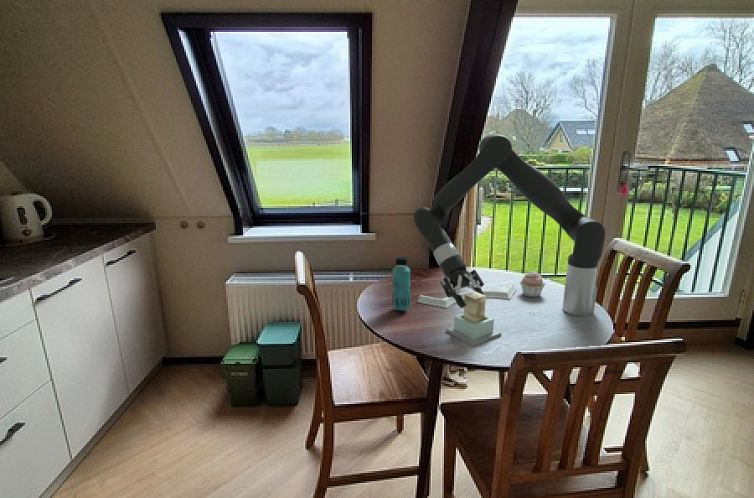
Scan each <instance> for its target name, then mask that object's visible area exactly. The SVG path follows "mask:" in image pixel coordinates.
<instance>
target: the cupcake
mask: <svg viewBox="0 0 754 498" xmlns="http://www.w3.org/2000/svg"><path fill="white" fill-rule="evenodd" d="M519 284H520V286H521V290H522V294H523V296H525V297H528V298H538V297H540V296H541V295H542V291H543V289H544V287H545V286H546V283H544V280H543V277H542V276H541V275H540V274H539V273H538V272H536V271H535V270H533V269H532V271H531V272H528V273H525V275H524V276H523V277H522V279H521V280H520V281H519Z"/></svg>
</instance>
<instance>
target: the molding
mask: <svg viewBox="0 0 754 498" xmlns="http://www.w3.org/2000/svg"><path fill="white" fill-rule="evenodd" d="M516 291H517V288H516V287H515V286H514V284H513V283H509V285H507V286H506V285H503V286H502V287H501V288H500V290H482V292H483V293H484V295H485V296H486V299H499V300H500V299H501V300H509V301H510V300H511V299H512V298H513V296H514V295H515V293H516ZM471 292H475V291H474V290H472V291H465V292H460V294H459V295H461V296H462V298H463V300H465V294H468V293H471ZM417 303H418V304H419V303H420V304H424V305H428V306H434V307H437V308H438V307H439V308H444V309H448V308H449V307H451V306H452V305H455V304H457V302H456V300H455V299H454V298H453V297H450V298H448V297H447V296H446V297H443V298H437V297H434V296H433V297H432V296H426V295H421V294H420V295H419V296H418V299H417Z"/></svg>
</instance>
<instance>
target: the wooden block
mask: <svg viewBox="0 0 754 498" xmlns="http://www.w3.org/2000/svg"><path fill="white" fill-rule="evenodd" d="M470 292H471V293H468V294H465V300H464V302H465V303H466V306H465V307H464V308H463V313H464V319H465V320H467V321H469V322H472V323H474V324H476V323H478V322H481V321H484V319H485V315H486V299H487V298H486V296H485V295H483V294H480V293H478V292H472V291H470Z"/></svg>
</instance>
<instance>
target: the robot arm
mask: <svg viewBox="0 0 754 498" xmlns="http://www.w3.org/2000/svg"><path fill="white" fill-rule="evenodd" d="M478 145H479V146H478V151H479V152H478V154H477V155H476V156H475V157H474V159H473V160H472V161H471V163H469V164H468V165H467V166H466V167H465V168H464V169H463V170H462V171H461V172H459V173H458V174H457V175H455V176H454V177H453V178H452V179H451V180H449V181H448V182H446V184H445V185H444V186H443V187H442V188H441V189H440V190H439V191H438V192H437V193H436V194H435V196H434V197H433V201H434V202H433V204H432V206H431V207H430V208H428V207H424V206H422V207H419V208H417V209H416V210H415V211H414V213H413V222H414V224H415V226H416V229H418V231H419V232H420V234H421V235H422V236H423V238H424V239H425V240H426V242H427V244H428V246H429V248H430V249H431V252H432V254H433V256H434V258H435V261H436V263H437V264H438V266H439V268H440V269H441V272H442V274H443V275H444V278H443V279H441V281H440V285H441V286H442V289H443V290H444V293H445V295H446V297H448V298H450V297H453V298H454V299H455V300H456V302H457V303H456V304H457V306H458V307H459V308H460V309H464V307H465V306H466V303H465V302H464V300H463V298H462V296H461V295H459V294H460V293H461V289H465V288H468V289H471V290H472V291H475V292H478V293H480V294H483V295H484V293H483V292H482V291H483V290H482V288H483V286H485V283H484V282H483V280H482V278H481V277H480V275H479V274H478V272H477V270H476V269H473V270H471V271H470V272H469V271H468V270H467V265H466V263H465V261H464V260H463V258H462V256H461V254H460V252H459V251H458V249H457V248H456V246H455V245H454V244H453V241H452V240H451V238H450V237H449V235H448V234H447V232H446V231H445V230H444V229H443V228H442V227H441V225H442V223H443V222H444V221H445V219H446V217H447V216H448V214H449V213H450V211H451V210H452V209H453V208H454V207H455V206H457V204H458V203H459V202H460V201H461V200H462V199H463V198H464V197H465V196H466V195H467V194H468V193H469V192H470V191H471V190H472V189H473V188H474V187H475V186H476V185H477V184H478V183H479V182H480V181H481V180H483V179H484V177H487V175H488V174H489V173H491V172H493V171H494V170H495V169H496V170H498V171H499V172H501V173H502V174H503V175H505V177H506V178H507V179H508V180H509V181H510V182H511V183H512V184H513V185H514V187H515V188H516V189H517V190H518V191H519V192H520V193H521V194H522V195H523V196H524V198H526V199H527V200H528V201H529V202H530V203H532V204H533V205H534V206H535V208H537V209H539V210H540V211H541V212H543V214H546V215H547V216H548V217H549V218H551V219H552V220H554V221H555V223H557V224H558V225H559V226H560V227H561V228H562V230H563V231H564V232H565V233H566V234H567V235H568V237H569V238H570V239H571V240H572V241H573V242H574V248H573V252H572V253H570V254H569V255H568V257H567V264H566V274H565V275H566V276H565V283H564V291H563V300H562V306H561V307H562V311H564V312H565V313H567V314H569V315H573V316H578V317H579V316H580V317H585V316H590V315H592V314H594V312H595V308H596V307H595V306H596V300H597V294H598V293H597V292H598V287H597V286H596V280H597V271H598V265H599V262H600V260H601V258H602V255H603V251H604V244H605V239H606V229H605V227H604V225H603V224H602V223H601V222H599V221H598V220H595V219H593V218H591V217H589V216H587V215H585V214H583V213H582V212H581V211H579V209H577V208H575V206H573V205H572V204H571V202H570V201H568V199H567V197H566V196H565V194H564V193H563V191H562V190H561V188H560V187H559V186H558V185H557V184H556V183H555V182H554V181H553V180H551V179H550V178H549V177H548V176H547V175H546V174H544V173H543V172H542V171H540V170H539V169H538V168H536V167H534V166H533V165H532V164H530V163H529V162H527V161H525V160H524V159H523V158H522V157H521V156H519V155H518V154H517V153H516V152H515V151H514V149H513V146H512V143H511V140H510V139H509V138H508V137H506V136H505V135H502V134H497V133H495V134H488V135H486V136H485V137H483V138H482V139H481V140H480V143H479V144H478Z"/></svg>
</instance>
